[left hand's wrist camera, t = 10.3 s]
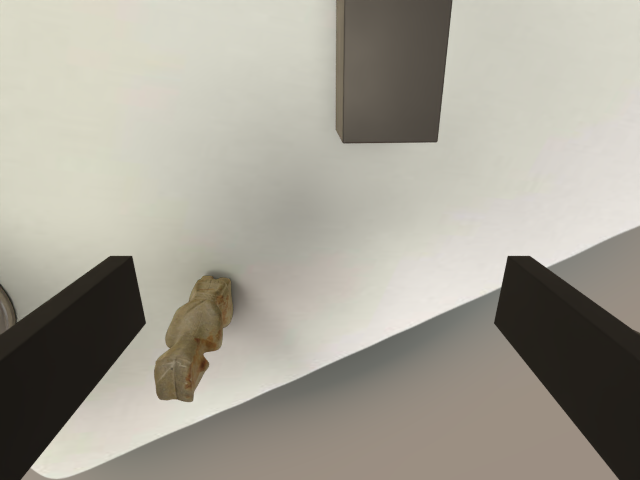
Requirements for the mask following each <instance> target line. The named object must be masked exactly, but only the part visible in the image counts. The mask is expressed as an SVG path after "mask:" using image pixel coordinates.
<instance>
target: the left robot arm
mask: <svg viewBox="0 0 640 480" xmlns="http://www.w3.org/2000/svg"><path fill="white" fill-rule="evenodd" d="M15 321H16V320H15V313H14V309H13V306H12V304H11V302H10V300H9V298H8V296H7V295H6V293H5V292H4V290H3V289H2V288H1V287H0V480H21V479H22V477H23V476H24V475H25V474H26V472H27V471H28V470H29V469H30V467H31V466H32V465H33V464H34V462H35V461H36V460H37V459H38V457H39V456H40V455H41V454H42V452H43V451H44V450H45V449H46V447H47V446H48V445H49V444H50V442H51V441H52V440H53V439H54V437H55V436H56V435H57V434H58V432H59V431H60V430H61V429H62V427H63V426H64V425H65V424H66V422H67V421H68V420H69V419H70V417H71V416H72V415H73V414H74V412H75V411H76V410H77V409H78V407H79V406H80V405H81V404H82V402H83V401H84V400H85V399H86V397H87V396H88V395H89V394H90V392H91V391H92V390H93V389H94V387H95V386H96V385H97V384H98V382H99V381H100V380H101V379H102V377H103V376H104V375H105V374H106V372H107V371H108V370H109V369H110V367H111V366H112V365H113V364H114V362H115V361H116V360H117V359H118V357H119V356H120V355H121V354H122V352H123V351H124V350H125V349H126V347H127V346H128V345H129V344H130V342H131V341H132V340H133V339H134V337H135V336H136V335H137V334H138V332H139V331H140V330H141V329H142V327H143V326H144V325H145V324H146V321H145V316H144V312H143V307H142V302H141V297H140V292H139V287H138V282H137V277H136V272H135V268H134V263H133V258H132V256H110V257H108V258H107V259H105V260H104V261H103V262H101V263H100V264H98V265H97V266H96V267H94V268H93V269H91V270H90V271H89V272H87V273H86V274H84V275H83V276H82V277H80V278H79V279H77V280H76V281H75V282H73V283H72V284H70V285H69V286H68V287H66V288H65V289H63V290H62V291H61V292H59V293H58V294H57V295H55V296H54V297H52V298H51V299H50V300H48V301H47V302H45V303H44V304H43V305H41V306H40V307H38V308H37V309H36V310H34V311H33V312H31V313H30V314H29V315H27V316H26V317H24V318H23V319H22V320H20V321H19V322H17V323H16V324H15ZM494 324H495V325H496V326H497V327H498V329H499V330H500V331H501V332H502V334H503V335H504V336H505V337H506V339H507V340H508V341H509V342H510V344H511V345H512V346H513V347H514V349H515V350H516V351H517V352H518V354H519V355H520V356H521V357H522V359H523V360H524V361H525V362H526V364H527V365H528V366H529V367H530V369H531V370H532V371H533V372H534V374H535V375H536V376H537V377H538V379H539V380H540V381H541V382H542V384H543V385H544V386H545V387H546V389H547V390H548V391H549V392H550V394H551V395H552V396H553V397H554V399H555V400H556V401H557V402H558V404H559V405H560V406H561V407H562V409H563V410H564V411H565V412H566V414H567V415H568V416H569V417H570V419H571V420H572V421H573V422H574V424H575V425H576V426H577V427H578V429H579V430H580V431H581V432H582V434H583V435H584V436H585V437H586V439H587V440H588V441H589V442H590V444H591V445H592V446H593V447H594V449H595V450H596V451H597V452H598V454H599V455H600V456H601V457H602V459H603V460H604V461H605V462H606V464H607V465H608V466H609V467H610V469H611V470H612V471H613V472H614V474H615V475H616V476H617V477H618V479H619V480H640V333H639V332H637V331H635V330H632V329H631V328H629V327H628V326H627V325H625V324H624V323H623V322H621V321H620V320H618V319H617V318H616V317H614V316H613V315H611V314H610V313H609V312H607V311H606V310H604V309H603V308H601V307H600V306H599V305H597V304H596V303H595V302H593V301H592V300H590V299H589V298H588V297H586V296H585V295H583V294H582V293H581V292H579V291H578V290H576V289H575V288H574V287H572V286H571V285H570V284H568V283H567V282H565V281H564V280H563V279H561V278H560V277H558V276H557V275H556V274H554V273H553V272H551V271H550V270H549V269H547V268H546V267H544V266H543V265H542V264H540V263H539V262H537V261H536V260H535V259H533V258H532V257H530V256H508V258H507V263H506V268H505V272H504V277H503V282H502V287H501V292H500V297H499V302H498V307H497V312H496V317H495V322H494Z"/></svg>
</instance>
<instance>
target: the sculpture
mask: <svg viewBox="0 0 640 480" xmlns="http://www.w3.org/2000/svg"><path fill="white" fill-rule="evenodd" d="M232 315H233V304H232V297H231V281H230V279H228V278H223V277H221V278H219V279H214V278H213V277H212V276H203V277H202V278H201V279H200V280H198V281H197V282H196V284H195V286H194V288H193V290H192V292H191V295H190V298H189V302H188V303H187V304H185V305H183V306H182V307H180V308H179V309H178V310H177V311H176V313H175V315H174V317H173V319H172V322H171V324H170V326H169V328H168V330H167V333H166V337H165V341H166V345H167V346H168V347H169V348H170V349H169V350H168V351H166V352H165V353H164V354H163V355H161V356H160V357H159V358H158V360H157V361H156V365H155V370H154V377H155V383H156V393H157V396H158V398H159V399H161V400H171V399H178V400H181V401H184V402H192V401H193V396H194V391H195V389H196V387H197V386H198V384H199V382H200V380H201V378H202V376H203V374H204V373H205V371H206V370H207V369H208V367H209V362H208V361H207V360H206V359H205V357H204V355H203V354H204V353H205V352H211V351H216V350H218V349H219V348H220V347H221V345H222V337H223V328H224V327H227V326H228V325H229V323H230V322H231V319H232Z"/></svg>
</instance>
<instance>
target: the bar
mask: <svg viewBox="0 0 640 480" xmlns="http://www.w3.org/2000/svg"><path fill="white" fill-rule="evenodd" d="M451 9H452V0H336V131H337V133H338V135H339V137H340V139H341V140H342V142H343V143H416V142H437V141H438V131H439V122H440V112H441V103H442V94H443V84H444V75H445V65H446V56H447V47H448V37H449V28H450V18H451Z"/></svg>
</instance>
